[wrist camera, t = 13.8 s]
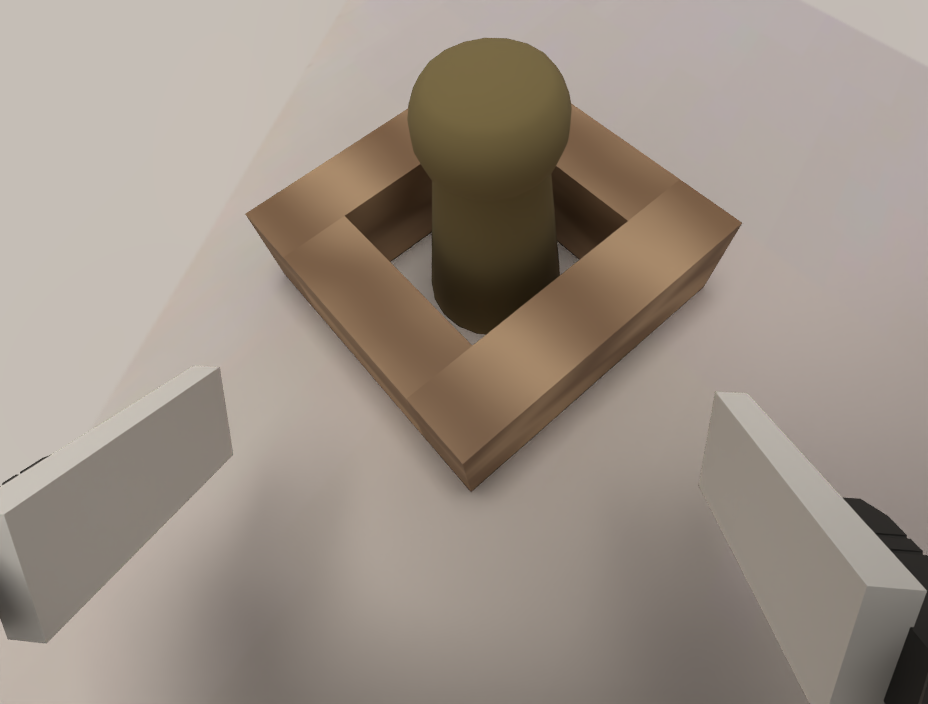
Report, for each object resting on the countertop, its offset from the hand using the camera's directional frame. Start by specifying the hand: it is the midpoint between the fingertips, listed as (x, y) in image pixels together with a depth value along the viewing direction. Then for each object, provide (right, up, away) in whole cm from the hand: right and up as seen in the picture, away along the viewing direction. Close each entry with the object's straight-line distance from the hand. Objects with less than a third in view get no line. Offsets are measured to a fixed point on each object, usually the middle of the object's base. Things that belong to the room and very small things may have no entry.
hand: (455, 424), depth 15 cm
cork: (+2, +5, +11) cm, 13 cm away
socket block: (+1, +5, +11) cm, 13 cm away
